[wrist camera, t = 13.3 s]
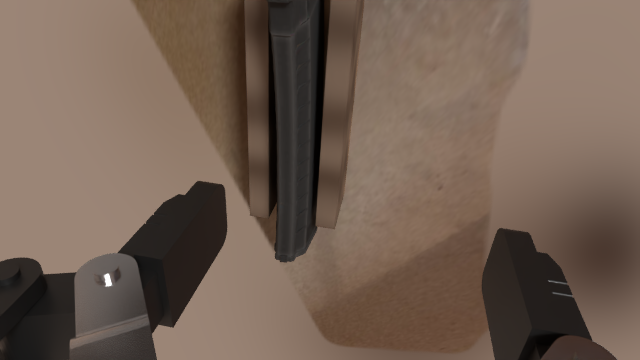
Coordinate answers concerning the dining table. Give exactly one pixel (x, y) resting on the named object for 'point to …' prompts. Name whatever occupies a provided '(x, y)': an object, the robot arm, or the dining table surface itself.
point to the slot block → (336, 114)
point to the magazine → (297, 119)
